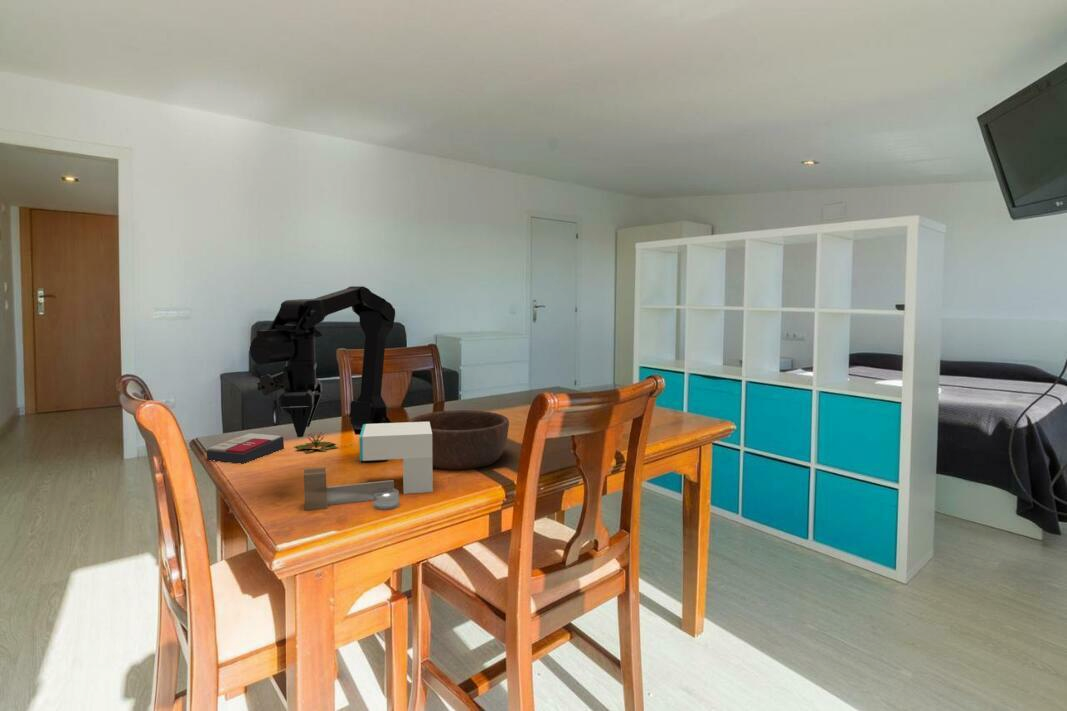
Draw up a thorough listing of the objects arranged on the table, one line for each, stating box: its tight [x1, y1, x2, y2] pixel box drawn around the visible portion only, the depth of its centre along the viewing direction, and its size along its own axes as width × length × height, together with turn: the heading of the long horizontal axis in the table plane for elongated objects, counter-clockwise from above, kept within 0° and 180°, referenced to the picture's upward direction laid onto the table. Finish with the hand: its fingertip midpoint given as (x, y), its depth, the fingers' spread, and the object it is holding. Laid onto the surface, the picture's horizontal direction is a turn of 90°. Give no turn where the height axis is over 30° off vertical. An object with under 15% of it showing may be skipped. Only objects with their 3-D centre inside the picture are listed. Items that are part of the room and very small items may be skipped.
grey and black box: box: [206, 432, 285, 465], centre depth 149 cm, size 11×4×15 cm
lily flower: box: [293, 432, 339, 454], centre depth 157 cm, size 12×12×5 cm
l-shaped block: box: [358, 421, 434, 495], centre depth 126 cm, size 12×15×12 cm
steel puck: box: [373, 488, 400, 511], centre depth 114 cm, size 5×5×3 cm
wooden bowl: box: [409, 409, 510, 471], centre depth 147 cm, size 25×25×10 cm
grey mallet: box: [303, 466, 395, 512], centre depth 116 cm, size 4×17×7 cm, turn 111°
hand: (303, 431), depth 125 cm, fingers open, 9 cm apart
